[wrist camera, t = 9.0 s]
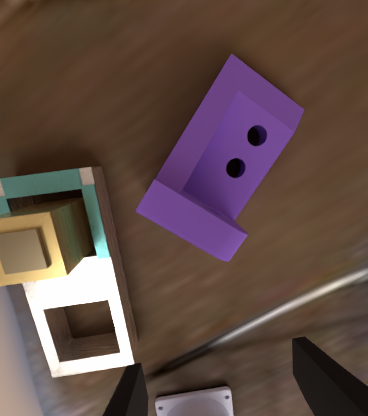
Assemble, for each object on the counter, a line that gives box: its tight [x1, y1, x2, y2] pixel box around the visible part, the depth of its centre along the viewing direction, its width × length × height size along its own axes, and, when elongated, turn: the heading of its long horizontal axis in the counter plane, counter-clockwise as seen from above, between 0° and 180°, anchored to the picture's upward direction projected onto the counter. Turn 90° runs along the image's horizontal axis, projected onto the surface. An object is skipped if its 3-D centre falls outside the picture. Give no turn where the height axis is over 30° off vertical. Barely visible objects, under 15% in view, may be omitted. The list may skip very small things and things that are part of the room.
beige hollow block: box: [0, 197, 95, 286], centre depth 15 cm, size 4×4×6 cm
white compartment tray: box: [0, 166, 138, 377], centre depth 18 cm, size 17×7×3 cm, turn 7°
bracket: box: [136, 53, 304, 262], centre depth 15 cm, size 12×7×7 cm, turn 148°
